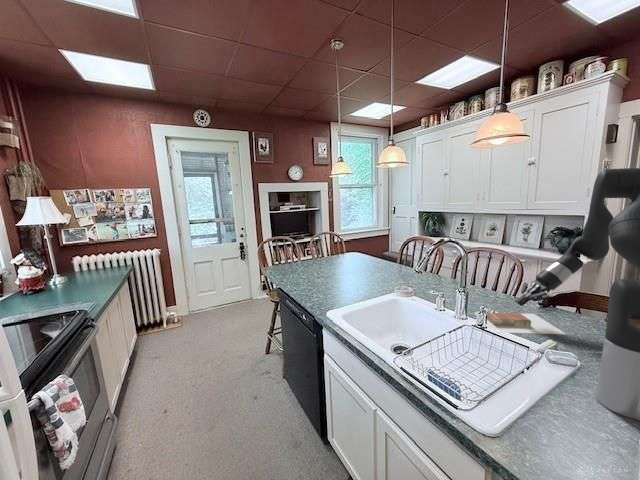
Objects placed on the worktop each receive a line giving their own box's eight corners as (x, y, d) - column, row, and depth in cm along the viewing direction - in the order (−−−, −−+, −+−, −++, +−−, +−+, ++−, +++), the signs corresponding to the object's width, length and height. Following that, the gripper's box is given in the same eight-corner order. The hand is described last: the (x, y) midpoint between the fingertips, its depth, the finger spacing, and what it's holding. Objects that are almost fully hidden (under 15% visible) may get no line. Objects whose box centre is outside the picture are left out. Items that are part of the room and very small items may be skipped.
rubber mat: (533, 315, 119) (533, 313, 119) (566, 335, 102) (566, 334, 102) (473, 313, 122) (473, 312, 122) (495, 333, 104) (495, 332, 104)
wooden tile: (520, 313, 114) (485, 312, 116) (531, 320, 108) (494, 319, 109) (519, 318, 115) (485, 318, 116) (530, 326, 108) (494, 325, 109)
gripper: (535, 265, 114) (502, 292, 117) (560, 274, 101) (522, 304, 104) (547, 277, 114) (514, 303, 117) (573, 287, 101) (535, 317, 104)
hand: (518, 303), depth 110 cm, fingers closed
